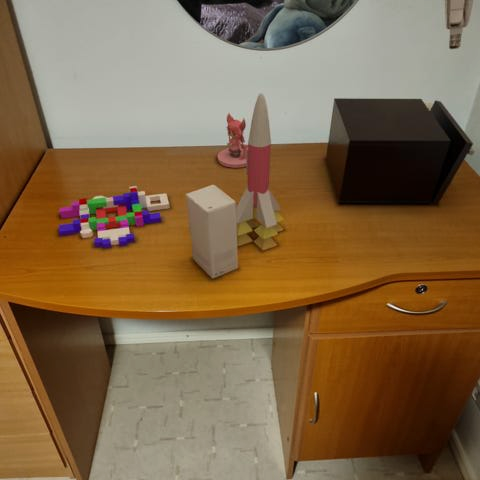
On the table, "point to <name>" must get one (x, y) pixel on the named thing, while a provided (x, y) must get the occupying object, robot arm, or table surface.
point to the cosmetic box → (213, 230)
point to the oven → (385, 151)
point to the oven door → (450, 149)
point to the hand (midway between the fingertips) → (454, 36)
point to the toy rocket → (258, 185)
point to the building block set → (124, 219)
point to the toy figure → (234, 145)
